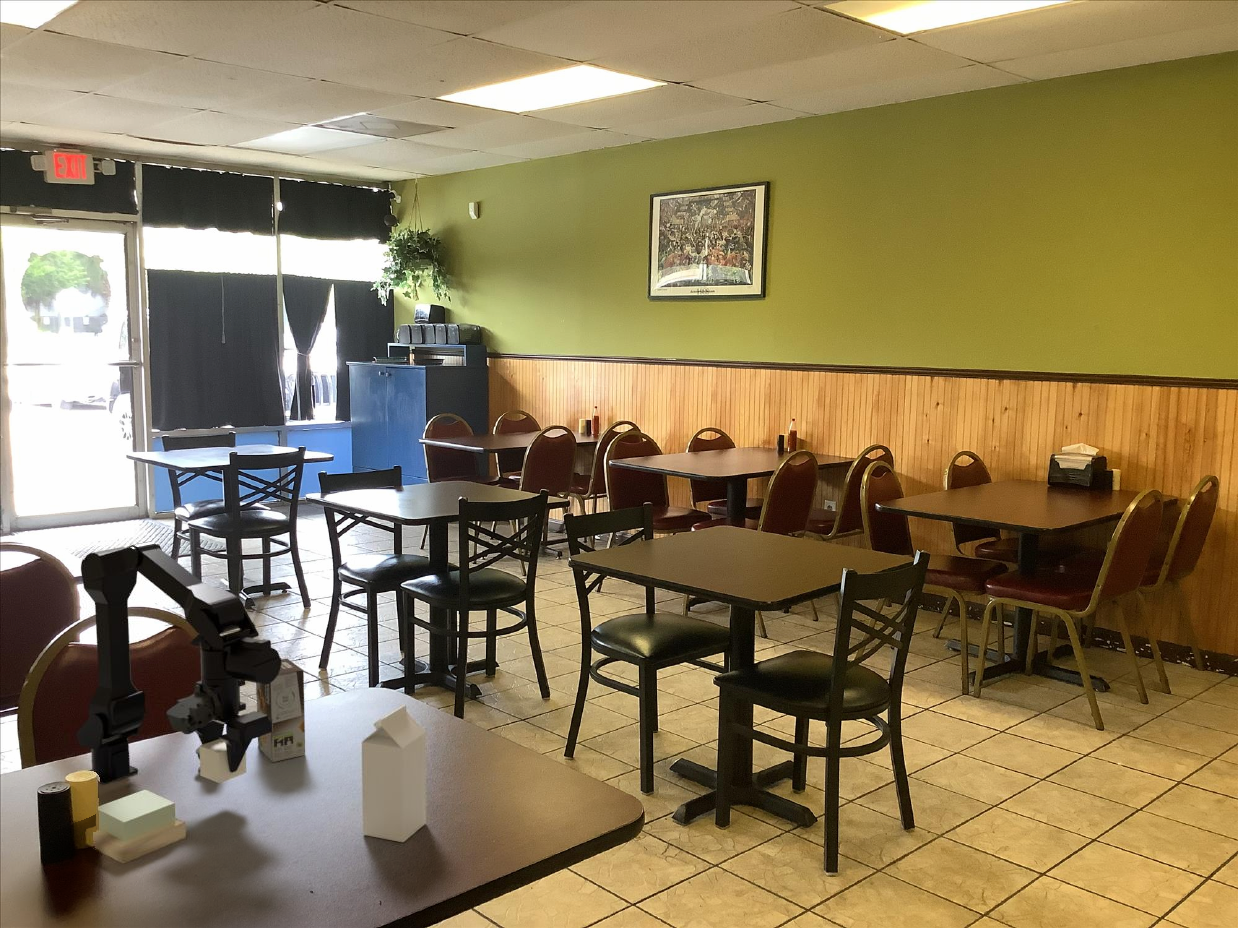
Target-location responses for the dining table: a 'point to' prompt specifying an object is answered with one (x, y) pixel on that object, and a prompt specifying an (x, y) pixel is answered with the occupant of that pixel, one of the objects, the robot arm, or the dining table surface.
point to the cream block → (218, 762)
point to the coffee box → (283, 713)
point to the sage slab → (136, 815)
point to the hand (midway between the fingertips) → (223, 767)
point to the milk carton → (394, 777)
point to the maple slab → (138, 841)
